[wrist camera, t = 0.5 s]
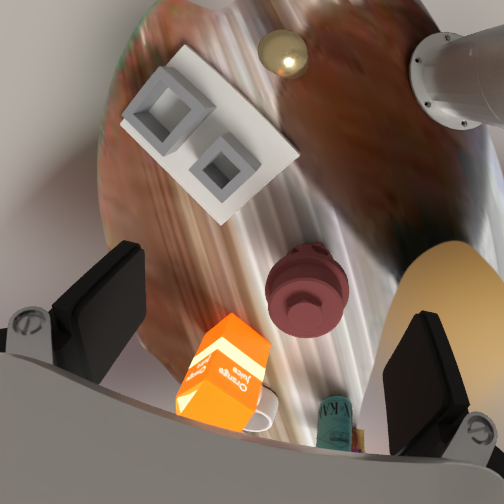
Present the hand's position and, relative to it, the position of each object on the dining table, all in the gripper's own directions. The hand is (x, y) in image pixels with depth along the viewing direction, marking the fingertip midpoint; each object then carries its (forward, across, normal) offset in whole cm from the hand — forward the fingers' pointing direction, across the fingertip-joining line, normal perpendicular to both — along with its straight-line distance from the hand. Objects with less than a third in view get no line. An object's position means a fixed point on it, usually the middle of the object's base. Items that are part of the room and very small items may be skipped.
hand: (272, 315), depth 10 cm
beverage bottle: (+32, -17, +43) cm, 56 cm away
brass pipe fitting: (+32, +4, -11) cm, 34 cm away
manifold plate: (+32, +13, 0) cm, 34 cm away
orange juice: (+32, +4, +32) cm, 46 cm away
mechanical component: (+32, -4, +15) cm, 35 cm away
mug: (+32, -2, +47) cm, 57 cm away
